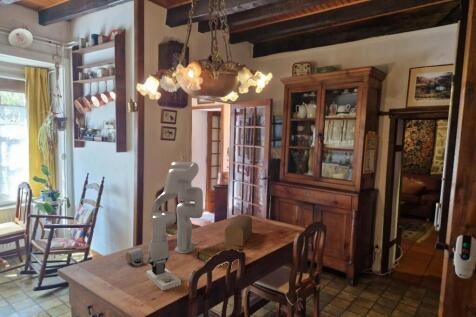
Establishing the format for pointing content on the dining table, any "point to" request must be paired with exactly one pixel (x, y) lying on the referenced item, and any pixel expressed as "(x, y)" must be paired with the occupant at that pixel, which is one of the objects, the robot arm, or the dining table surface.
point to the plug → (159, 267)
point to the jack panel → (164, 279)
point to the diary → (215, 250)
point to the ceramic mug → (134, 256)
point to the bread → (238, 230)
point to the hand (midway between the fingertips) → (158, 271)
